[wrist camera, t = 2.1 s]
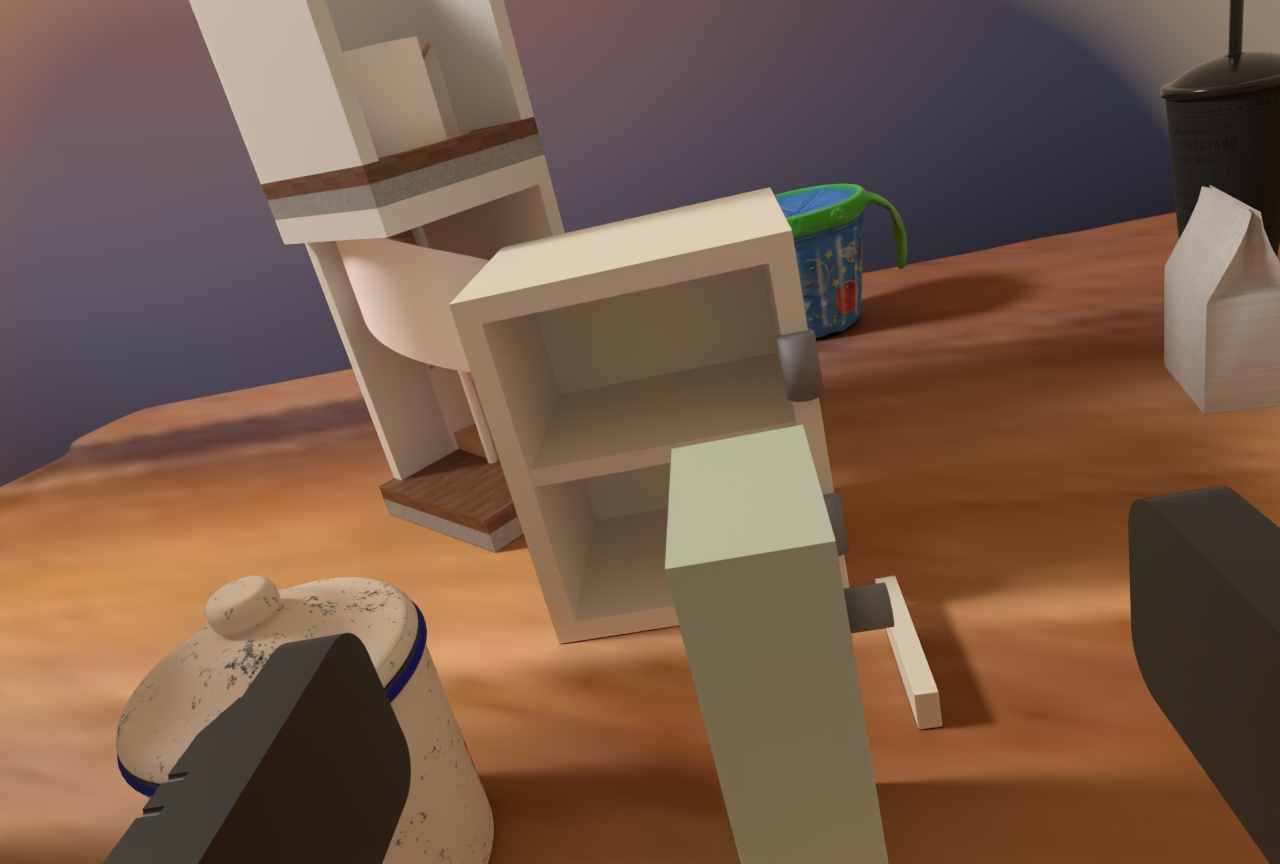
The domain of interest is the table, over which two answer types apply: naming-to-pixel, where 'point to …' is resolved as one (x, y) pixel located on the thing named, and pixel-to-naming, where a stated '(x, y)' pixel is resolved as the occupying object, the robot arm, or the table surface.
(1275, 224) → the drinking cup
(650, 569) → the cabinet
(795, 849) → the door
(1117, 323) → the table surface
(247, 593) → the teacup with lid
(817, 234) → the snack cup
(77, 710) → the table surface
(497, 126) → the display case
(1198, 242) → the white milk carton
